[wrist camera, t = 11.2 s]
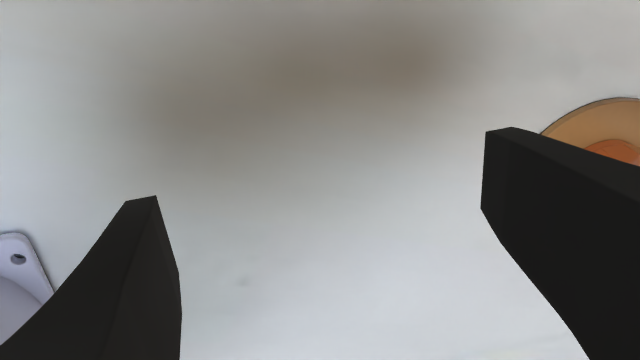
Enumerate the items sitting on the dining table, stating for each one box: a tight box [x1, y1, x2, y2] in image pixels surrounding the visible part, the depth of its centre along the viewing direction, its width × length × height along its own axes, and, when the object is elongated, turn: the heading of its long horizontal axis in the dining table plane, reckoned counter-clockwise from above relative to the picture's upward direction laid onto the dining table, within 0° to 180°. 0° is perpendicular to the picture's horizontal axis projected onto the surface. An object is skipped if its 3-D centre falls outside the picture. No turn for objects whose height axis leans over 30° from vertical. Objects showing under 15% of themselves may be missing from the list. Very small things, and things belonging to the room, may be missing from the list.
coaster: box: [541, 98, 640, 149], centre depth 26 cm, size 9×9×1 cm
